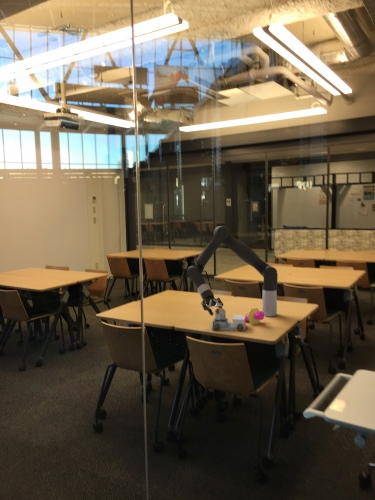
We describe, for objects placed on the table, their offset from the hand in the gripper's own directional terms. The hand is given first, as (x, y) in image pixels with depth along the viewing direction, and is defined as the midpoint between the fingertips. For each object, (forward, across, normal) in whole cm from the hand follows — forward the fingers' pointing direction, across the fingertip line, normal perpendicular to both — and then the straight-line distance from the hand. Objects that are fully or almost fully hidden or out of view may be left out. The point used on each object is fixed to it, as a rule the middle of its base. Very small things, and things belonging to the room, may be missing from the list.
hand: (217, 313), depth 250 cm
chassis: (+10, +4, +2) cm, 11 cm away
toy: (+12, +22, 0) cm, 26 cm away
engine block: (+6, 0, +3) cm, 7 cm away
